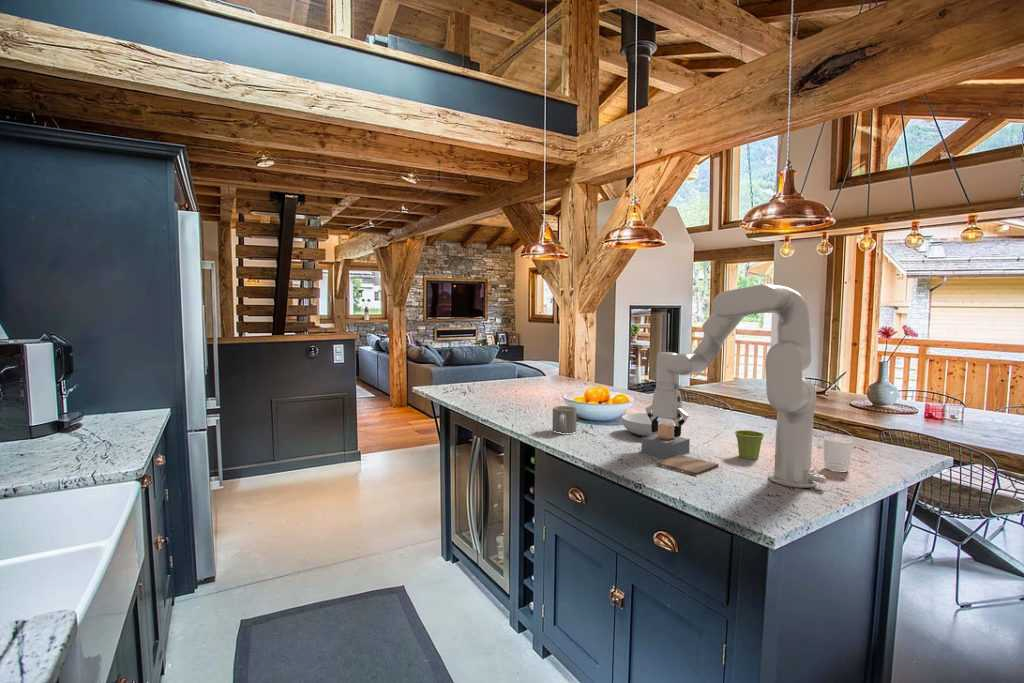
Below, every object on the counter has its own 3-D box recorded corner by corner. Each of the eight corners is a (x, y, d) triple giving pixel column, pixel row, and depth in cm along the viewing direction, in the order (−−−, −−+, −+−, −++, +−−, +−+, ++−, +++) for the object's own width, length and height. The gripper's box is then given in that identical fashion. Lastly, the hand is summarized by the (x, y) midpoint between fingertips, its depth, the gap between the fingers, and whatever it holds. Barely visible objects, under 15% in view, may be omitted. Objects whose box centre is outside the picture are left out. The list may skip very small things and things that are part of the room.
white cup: (837, 474, 159) (839, 443, 158) (816, 466, 167) (817, 437, 166) (857, 472, 161) (858, 441, 160) (835, 465, 169) (836, 435, 168)
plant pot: (727, 455, 179) (728, 431, 178) (745, 452, 183) (746, 428, 183) (751, 462, 170) (752, 437, 170) (769, 459, 175) (770, 434, 174)
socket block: (689, 452, 182) (689, 439, 182) (670, 458, 174) (671, 444, 174) (660, 445, 191) (660, 432, 191) (641, 451, 183) (641, 437, 183)
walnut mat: (718, 467, 165) (718, 464, 165) (696, 475, 156) (696, 472, 156) (679, 457, 176) (679, 454, 176) (657, 465, 167) (657, 462, 167)
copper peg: (673, 452, 182) (674, 425, 182) (667, 454, 180) (667, 426, 179) (663, 450, 185) (664, 423, 185) (657, 452, 183) (658, 424, 182)
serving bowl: (628, 440, 199) (629, 423, 198) (616, 428, 219) (616, 412, 219) (680, 440, 199) (681, 423, 199) (663, 428, 220) (663, 412, 220)
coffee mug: (557, 427, 219) (557, 405, 218) (579, 430, 215) (579, 407, 214) (545, 434, 207) (546, 410, 207) (568, 437, 203) (568, 412, 202)
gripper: (694, 388, 177) (693, 437, 178) (652, 382, 190) (651, 428, 191) (683, 390, 172) (682, 440, 173) (640, 384, 185) (639, 431, 186)
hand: (665, 434), depth 182 cm, fingers open, 8 cm apart
